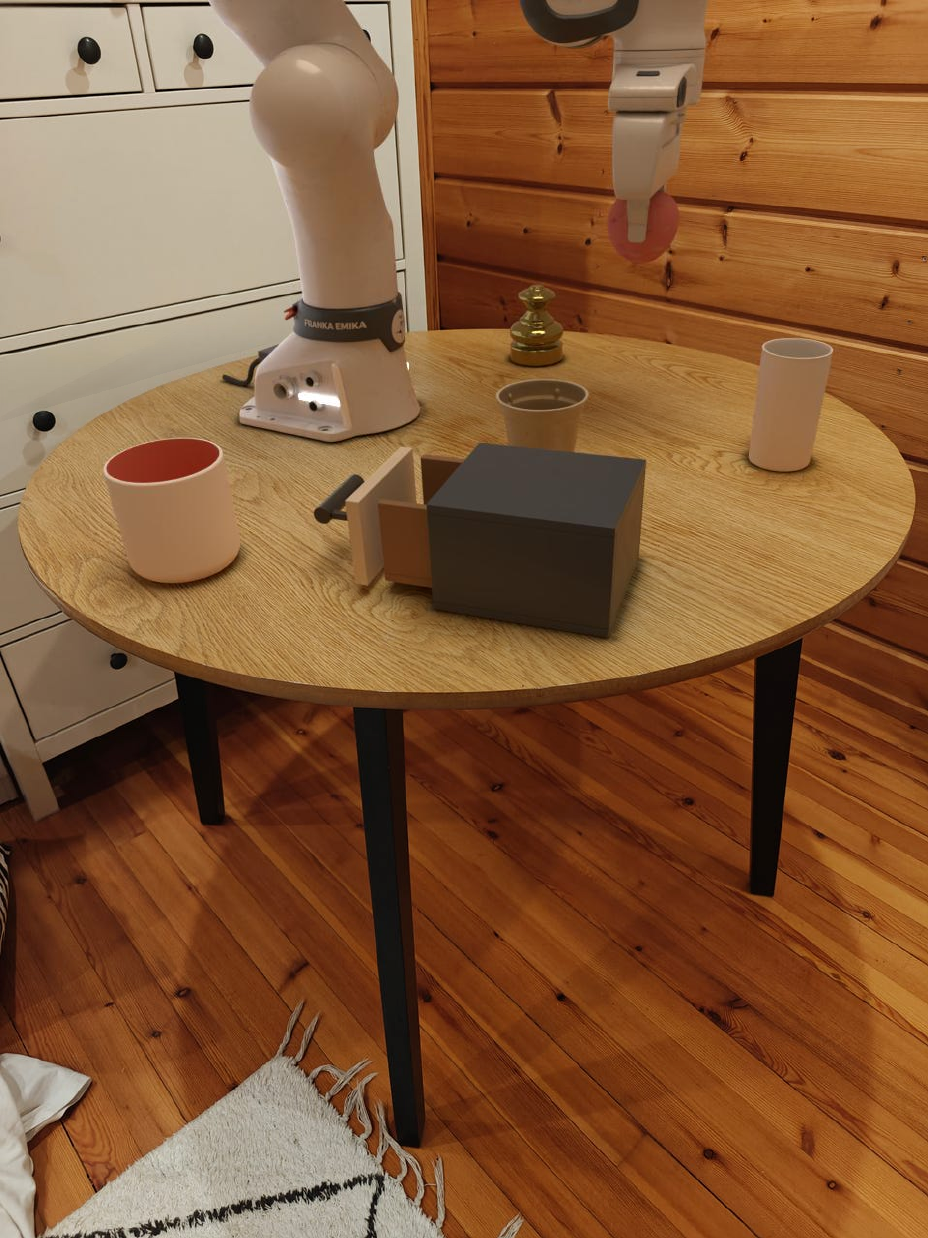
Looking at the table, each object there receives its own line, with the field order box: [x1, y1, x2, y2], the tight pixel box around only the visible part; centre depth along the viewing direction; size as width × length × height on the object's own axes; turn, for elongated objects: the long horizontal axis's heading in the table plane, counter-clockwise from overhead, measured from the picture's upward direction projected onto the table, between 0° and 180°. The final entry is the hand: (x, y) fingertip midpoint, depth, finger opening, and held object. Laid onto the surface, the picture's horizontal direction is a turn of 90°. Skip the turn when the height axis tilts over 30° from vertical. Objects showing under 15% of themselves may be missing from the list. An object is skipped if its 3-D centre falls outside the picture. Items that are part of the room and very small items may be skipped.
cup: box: [102, 437, 241, 584], centre depth 80 cm, size 10×10×10 cm
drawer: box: [313, 446, 466, 589], centre depth 77 cm, size 18×11×8 cm, turn 70°
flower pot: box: [495, 378, 590, 452], centre depth 93 cm, size 9×9×9 cm
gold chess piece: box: [509, 284, 564, 367], centre depth 125 cm, size 7×7×10 cm
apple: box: [606, 190, 680, 264], centre depth 97 cm, size 7×7×8 cm
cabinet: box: [426, 442, 647, 639], centre depth 74 cm, size 15×13×10 cm
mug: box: [748, 337, 834, 473], centre depth 94 cm, size 10×7×12 cm, turn 3°
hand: (644, 232), depth 97 cm, fingers closed on apple, 7 cm apart
